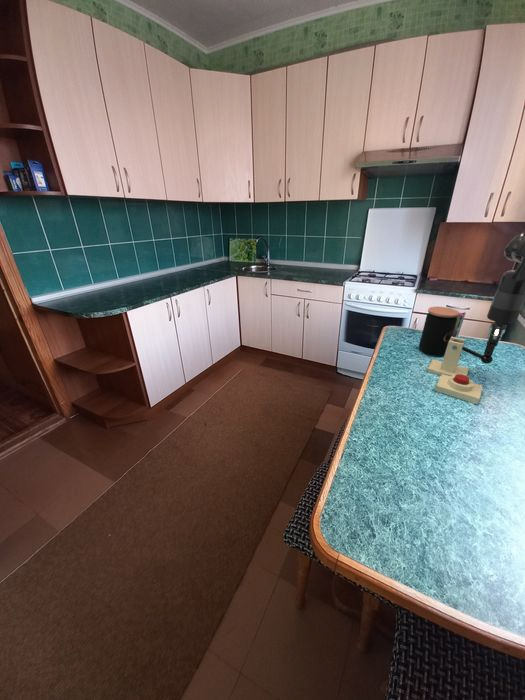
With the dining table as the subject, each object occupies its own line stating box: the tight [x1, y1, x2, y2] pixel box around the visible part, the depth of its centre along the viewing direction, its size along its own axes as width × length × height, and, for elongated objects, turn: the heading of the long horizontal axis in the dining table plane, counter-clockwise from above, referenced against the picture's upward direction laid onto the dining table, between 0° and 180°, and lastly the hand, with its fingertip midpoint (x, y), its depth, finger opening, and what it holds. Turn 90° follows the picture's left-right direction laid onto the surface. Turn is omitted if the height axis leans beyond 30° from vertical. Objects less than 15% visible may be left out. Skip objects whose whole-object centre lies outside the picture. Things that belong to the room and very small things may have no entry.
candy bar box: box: [436, 306, 466, 338], centre depth 123 cm, size 11×5×16 cm, turn 45°
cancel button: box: [454, 374, 471, 385], centre depth 95 cm, size 4×4×2 cm
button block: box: [434, 374, 484, 405], centre depth 96 cm, size 12×9×4 cm
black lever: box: [453, 340, 493, 365], centre depth 100 cm, size 13×3×3 cm, turn 51°
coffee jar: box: [418, 306, 459, 357], centre depth 118 cm, size 11×11×18 cm
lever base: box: [426, 337, 470, 377], centre depth 105 cm, size 12×9×13 cm
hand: (487, 354), depth 98 cm, fingers closed
